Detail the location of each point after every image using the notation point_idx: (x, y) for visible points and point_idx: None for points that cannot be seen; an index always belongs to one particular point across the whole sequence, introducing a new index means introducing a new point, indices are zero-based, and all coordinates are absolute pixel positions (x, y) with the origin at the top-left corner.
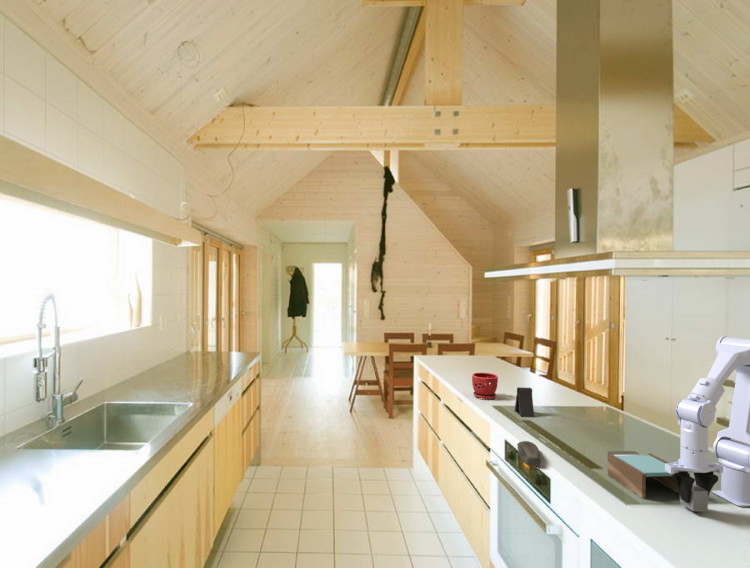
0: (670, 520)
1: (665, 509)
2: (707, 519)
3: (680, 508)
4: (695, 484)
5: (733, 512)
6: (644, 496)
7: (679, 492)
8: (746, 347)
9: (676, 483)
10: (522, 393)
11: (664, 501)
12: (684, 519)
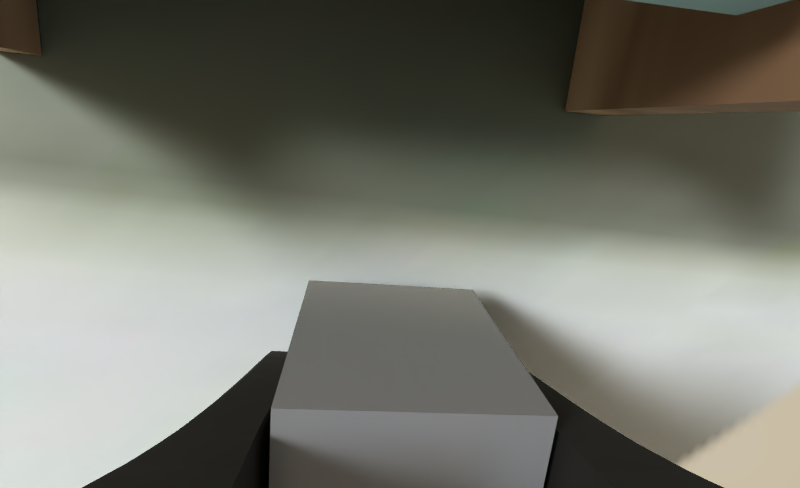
0: (10, 459)
1: (113, 295)
2: None
3: (293, 293)
4: (550, 442)
5: (704, 390)
6: (11, 49)
7: (240, 381)
8: None
9: (148, 454)
10: None
11: (239, 149)
12: None
